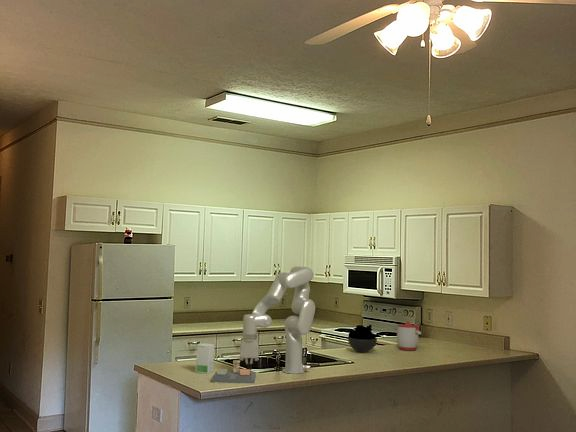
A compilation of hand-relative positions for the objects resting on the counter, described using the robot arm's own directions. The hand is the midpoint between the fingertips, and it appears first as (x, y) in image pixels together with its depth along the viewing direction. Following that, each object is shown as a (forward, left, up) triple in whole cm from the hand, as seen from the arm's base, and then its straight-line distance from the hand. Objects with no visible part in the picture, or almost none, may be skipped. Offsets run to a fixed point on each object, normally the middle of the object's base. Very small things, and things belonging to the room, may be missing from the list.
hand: (248, 370), depth 334 cm
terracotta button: (+1, +11, +1) cm, 12 cm away
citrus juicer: (-108, -101, -3) cm, 148 cm away
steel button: (+13, +11, +1) cm, 18 cm away
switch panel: (+7, +6, -3) cm, 10 cm away
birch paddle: (+7, 0, -1) cm, 7 cm away
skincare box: (+25, -10, -3) cm, 27 cm away
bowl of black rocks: (-73, -86, -3) cm, 113 cm away
